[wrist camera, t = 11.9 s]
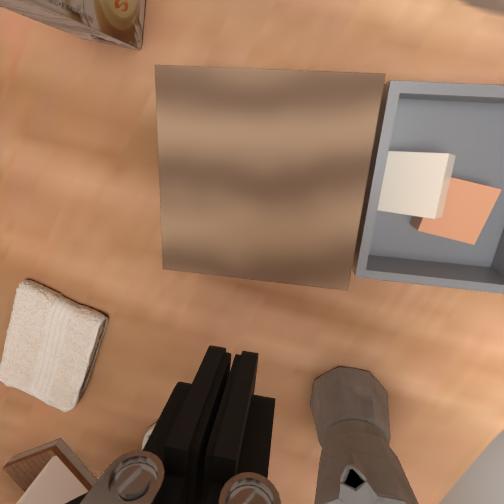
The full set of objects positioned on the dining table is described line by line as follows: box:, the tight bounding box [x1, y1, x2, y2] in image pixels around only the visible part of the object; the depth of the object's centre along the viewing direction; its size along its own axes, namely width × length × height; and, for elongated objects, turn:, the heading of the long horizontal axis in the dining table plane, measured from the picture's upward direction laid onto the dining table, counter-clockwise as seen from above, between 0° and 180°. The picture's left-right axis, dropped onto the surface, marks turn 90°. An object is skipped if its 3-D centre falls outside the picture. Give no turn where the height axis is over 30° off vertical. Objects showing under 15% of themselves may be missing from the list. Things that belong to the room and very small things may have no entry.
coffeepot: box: [310, 367, 418, 504], centre depth 33 cm, size 15×9×18 cm, turn 18°
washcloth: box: [0, 279, 108, 412], centre depth 45 cm, size 12×18×3 cm, turn 156°
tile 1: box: [410, 176, 502, 245], centre depth 30 cm, size 5×5×2 cm
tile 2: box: [377, 151, 456, 219], centre depth 28 cm, size 5×5×2 cm
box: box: [352, 81, 504, 294], centre depth 29 cm, size 16×14×5 cm
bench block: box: [155, 65, 385, 291], centre depth 30 cm, size 16×16×8 cm
